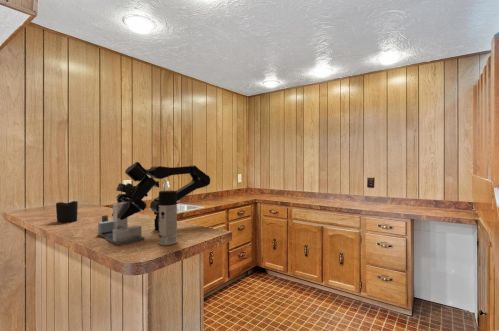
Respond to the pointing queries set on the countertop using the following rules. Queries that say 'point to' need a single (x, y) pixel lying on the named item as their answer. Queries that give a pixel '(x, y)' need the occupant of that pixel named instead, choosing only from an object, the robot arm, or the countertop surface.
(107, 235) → the vise base
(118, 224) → the steel block
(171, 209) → the spray can
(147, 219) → the countertop surface
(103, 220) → the sliding jaw
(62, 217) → the pen holder
